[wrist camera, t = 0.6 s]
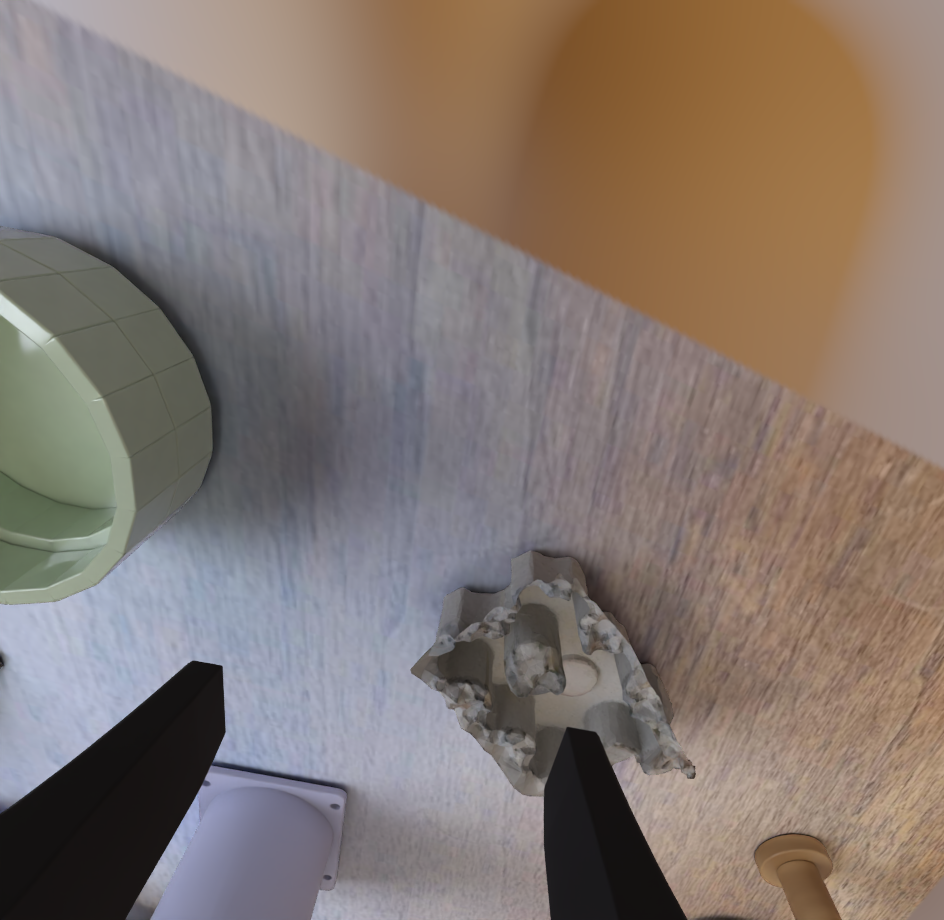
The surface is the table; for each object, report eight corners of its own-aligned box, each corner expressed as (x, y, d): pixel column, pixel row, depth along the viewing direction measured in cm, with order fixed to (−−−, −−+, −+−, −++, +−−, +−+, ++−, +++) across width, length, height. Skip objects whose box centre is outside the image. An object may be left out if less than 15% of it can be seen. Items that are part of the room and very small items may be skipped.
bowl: (225, 545, 22) (150, 632, 17) (-44, 495, 21) (-191, 569, 17) (216, 264, 17) (110, 283, 12) (-130, 196, 17) (-367, 188, 12)
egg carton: (678, 696, 24) (710, 785, 20) (534, 746, 26) (538, 836, 22) (570, 523, 20) (584, 593, 16) (412, 598, 22) (393, 675, 19)
